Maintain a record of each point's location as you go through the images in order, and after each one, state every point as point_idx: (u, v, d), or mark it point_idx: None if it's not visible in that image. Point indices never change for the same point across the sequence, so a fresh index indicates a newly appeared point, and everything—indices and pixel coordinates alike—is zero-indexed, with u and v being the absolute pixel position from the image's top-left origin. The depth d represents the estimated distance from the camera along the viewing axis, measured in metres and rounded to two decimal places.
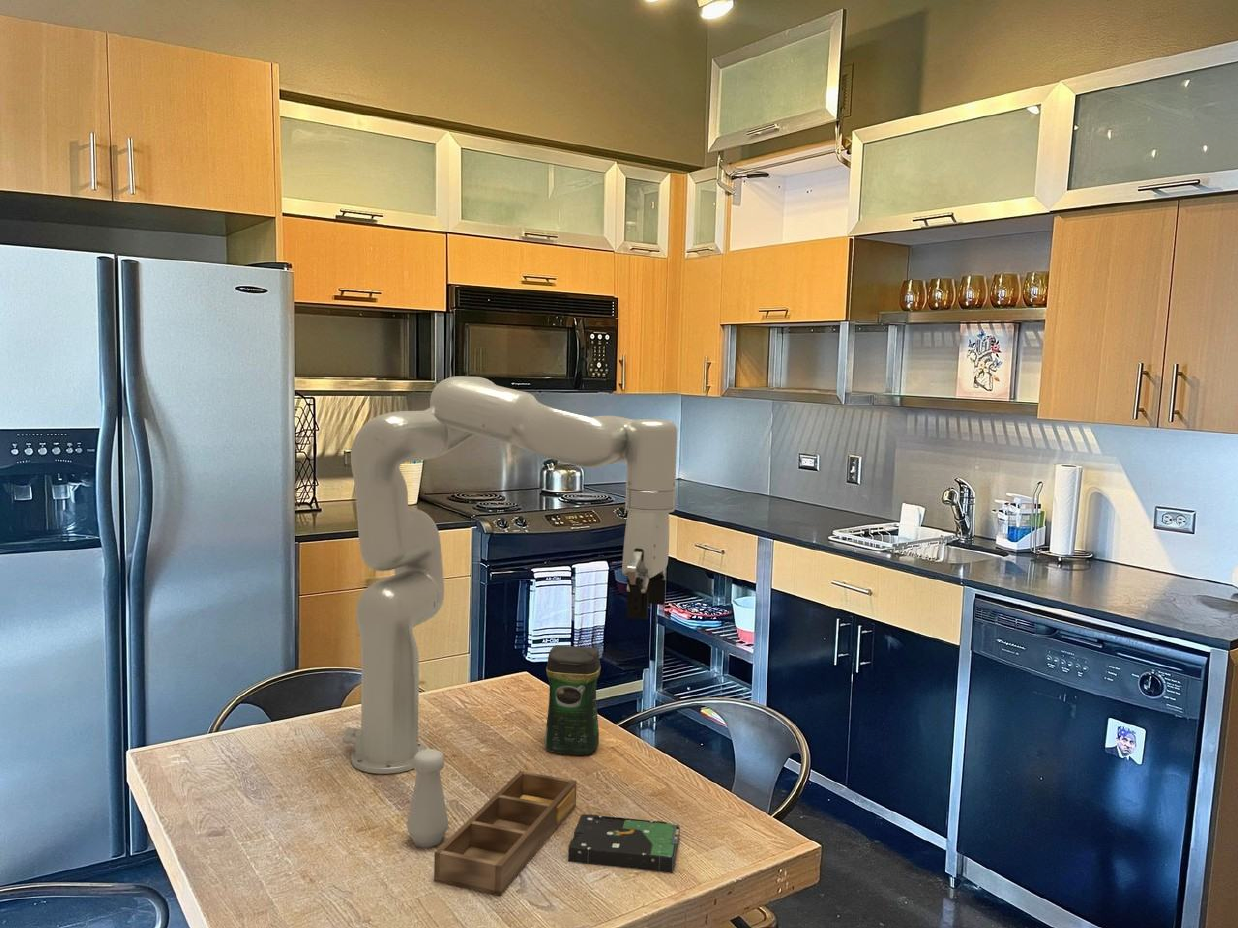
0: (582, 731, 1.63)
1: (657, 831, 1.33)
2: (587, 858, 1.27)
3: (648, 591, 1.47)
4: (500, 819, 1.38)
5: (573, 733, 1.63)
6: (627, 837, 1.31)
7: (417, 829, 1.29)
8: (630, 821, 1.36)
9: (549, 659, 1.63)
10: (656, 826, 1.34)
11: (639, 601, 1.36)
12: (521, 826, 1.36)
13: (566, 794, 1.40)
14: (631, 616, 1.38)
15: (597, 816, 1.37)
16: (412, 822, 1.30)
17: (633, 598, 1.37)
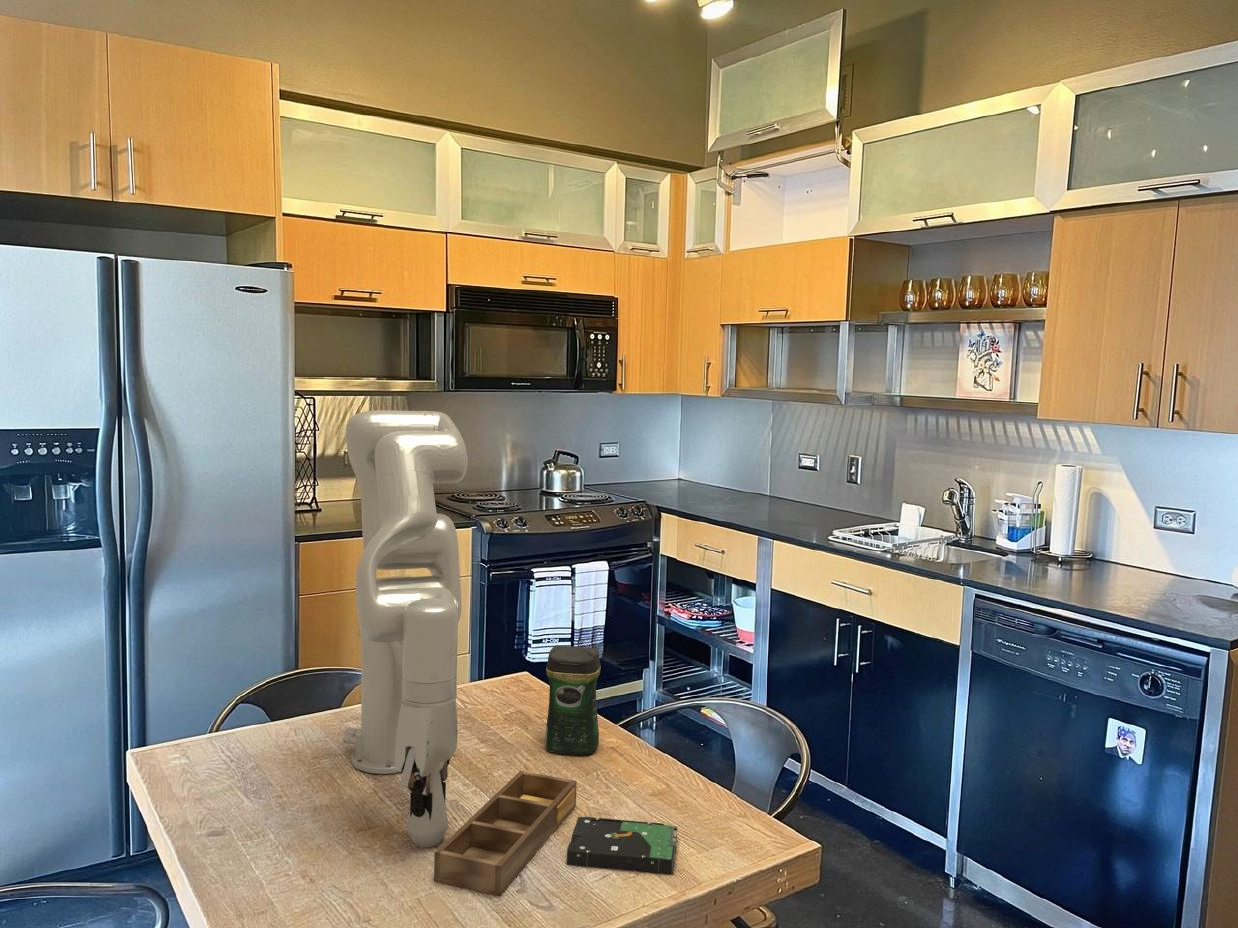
0: (582, 731, 1.63)
1: (655, 833, 1.32)
2: (586, 861, 1.27)
3: None
4: (500, 819, 1.38)
5: (573, 733, 1.63)
6: (626, 839, 1.30)
7: (417, 829, 1.29)
8: (627, 823, 1.35)
9: (549, 659, 1.63)
10: (654, 828, 1.34)
11: (421, 803, 1.29)
12: (521, 826, 1.36)
13: (566, 794, 1.40)
14: None
15: (594, 818, 1.36)
16: (412, 822, 1.30)
17: (415, 800, 1.29)
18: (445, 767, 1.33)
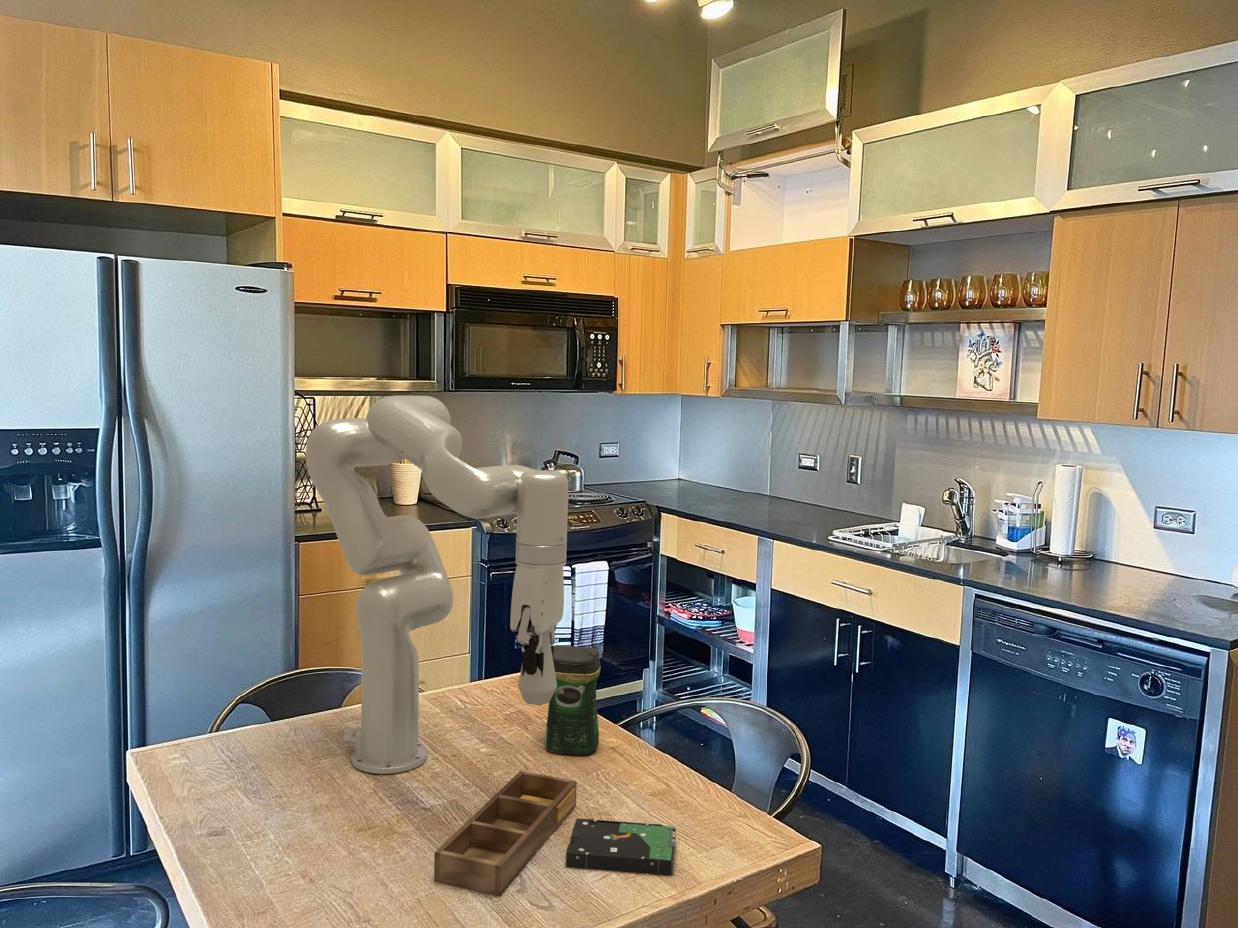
0: (582, 731, 1.63)
1: (653, 834, 1.32)
2: (585, 863, 1.26)
3: None
4: (500, 819, 1.38)
5: (573, 733, 1.63)
6: (625, 841, 1.30)
7: (530, 686, 1.37)
8: (626, 824, 1.35)
9: None
10: (652, 829, 1.34)
11: (534, 661, 1.36)
12: (521, 826, 1.36)
13: (566, 794, 1.40)
14: None
15: (592, 820, 1.36)
16: (525, 680, 1.37)
17: (528, 658, 1.36)
18: (553, 632, 1.41)
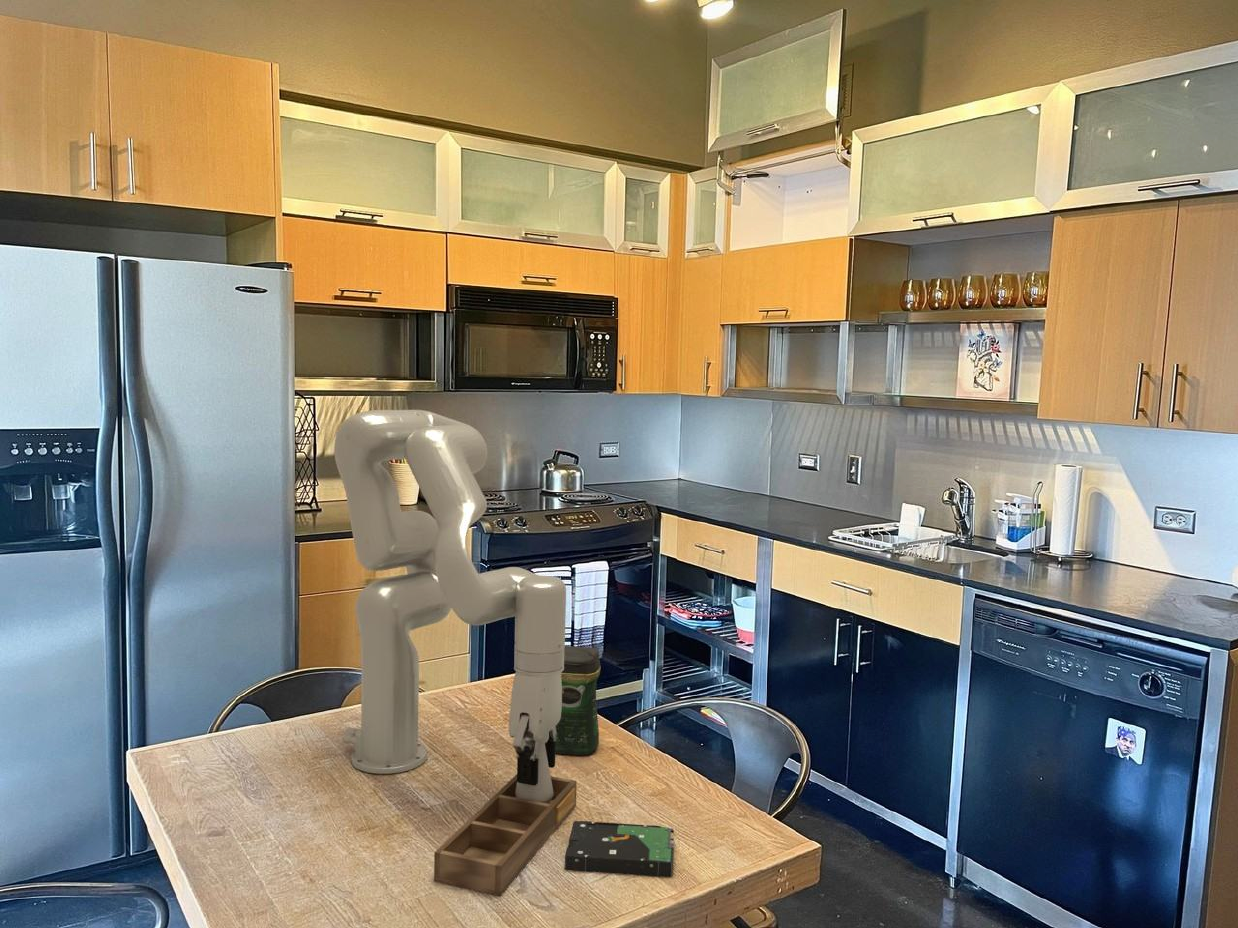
0: (582, 731, 1.63)
1: (652, 836, 1.31)
2: (584, 866, 1.25)
3: None
4: (500, 819, 1.38)
5: (573, 733, 1.63)
6: (623, 843, 1.29)
7: (527, 797, 1.38)
8: (624, 826, 1.34)
9: None
10: (650, 830, 1.33)
11: (529, 768, 1.36)
12: (521, 826, 1.36)
13: (566, 794, 1.40)
14: (522, 781, 1.38)
15: (590, 822, 1.35)
16: (522, 790, 1.39)
17: (523, 765, 1.37)
18: (554, 729, 1.43)
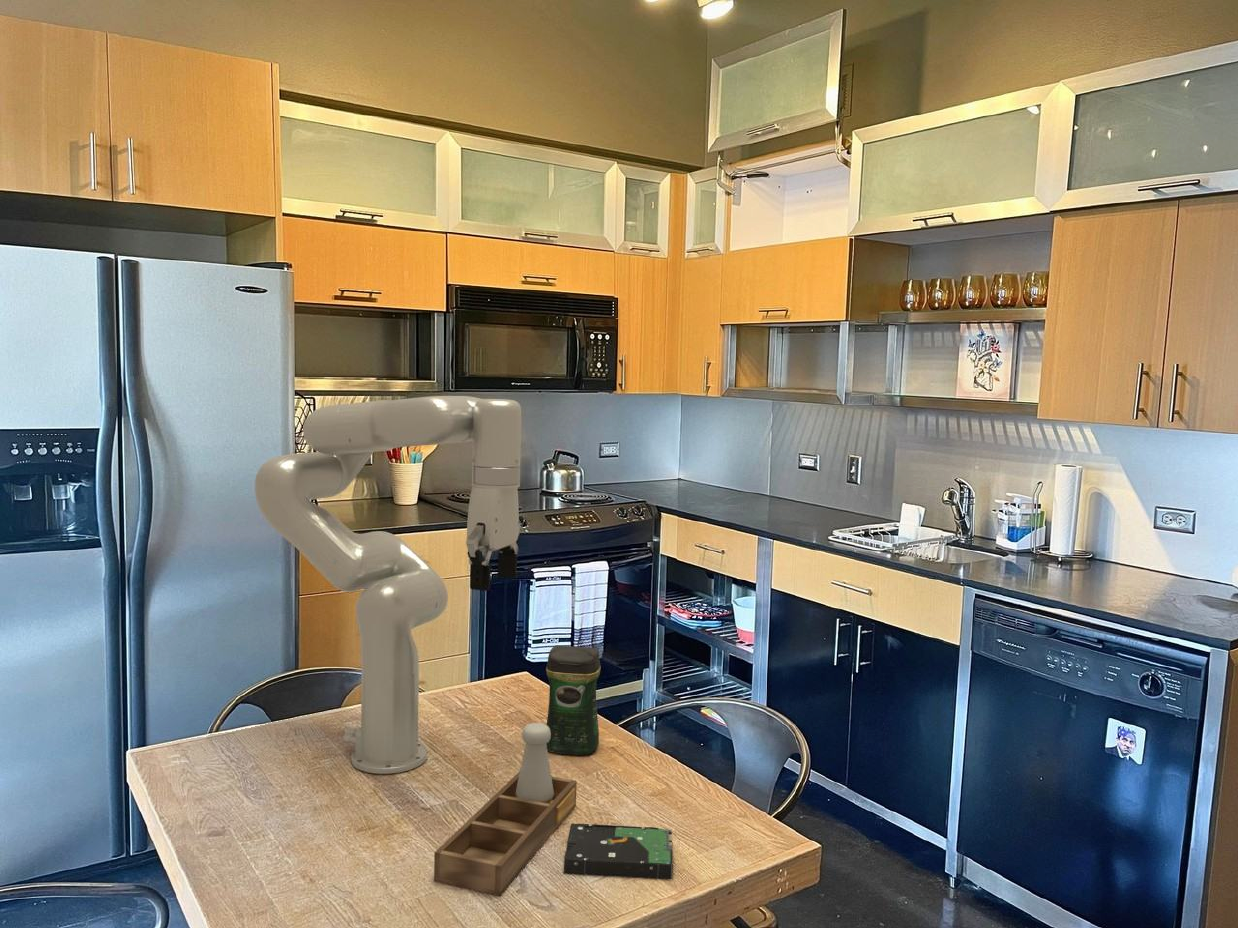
0: (582, 731, 1.63)
1: (650, 838, 1.31)
2: (583, 869, 1.24)
3: (500, 565, 1.52)
4: (500, 819, 1.38)
5: (573, 733, 1.63)
6: (622, 845, 1.29)
7: (527, 797, 1.38)
8: (621, 828, 1.33)
9: (549, 659, 1.63)
10: (648, 832, 1.33)
11: (481, 573, 1.42)
12: (521, 826, 1.36)
13: (566, 794, 1.40)
14: (474, 588, 1.43)
15: (587, 825, 1.34)
16: (522, 790, 1.39)
17: (475, 570, 1.42)
18: (514, 544, 1.52)
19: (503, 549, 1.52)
